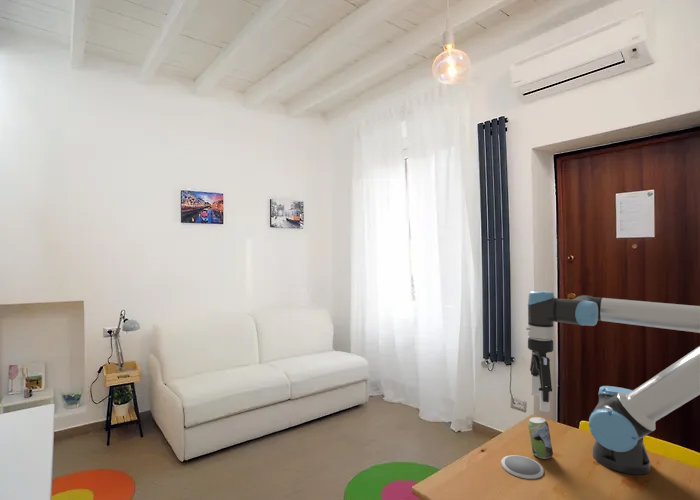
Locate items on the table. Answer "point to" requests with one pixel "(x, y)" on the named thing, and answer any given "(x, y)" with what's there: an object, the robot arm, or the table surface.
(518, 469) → the grey white round coaster
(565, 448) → the table surface
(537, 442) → the beverage can
